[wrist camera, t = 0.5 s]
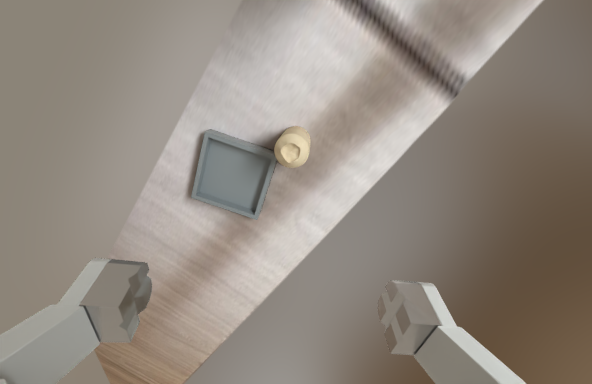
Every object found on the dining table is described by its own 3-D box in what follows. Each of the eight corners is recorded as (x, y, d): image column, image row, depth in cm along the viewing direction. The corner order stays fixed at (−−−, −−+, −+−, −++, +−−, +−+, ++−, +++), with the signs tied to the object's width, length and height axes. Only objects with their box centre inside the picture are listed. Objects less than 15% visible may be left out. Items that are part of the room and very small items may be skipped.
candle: (306, 158, 53) (303, 174, 43) (278, 151, 53) (269, 165, 43) (314, 130, 51) (313, 140, 41) (285, 122, 51) (277, 130, 41)
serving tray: (210, 129, 52) (204, 131, 50) (279, 153, 53) (277, 156, 50) (196, 192, 57) (191, 197, 54) (259, 213, 58) (257, 219, 55)
